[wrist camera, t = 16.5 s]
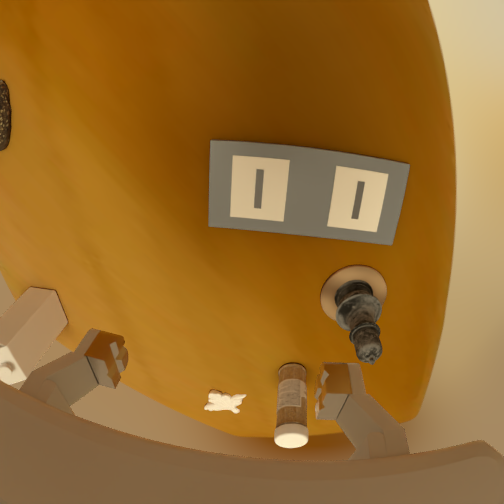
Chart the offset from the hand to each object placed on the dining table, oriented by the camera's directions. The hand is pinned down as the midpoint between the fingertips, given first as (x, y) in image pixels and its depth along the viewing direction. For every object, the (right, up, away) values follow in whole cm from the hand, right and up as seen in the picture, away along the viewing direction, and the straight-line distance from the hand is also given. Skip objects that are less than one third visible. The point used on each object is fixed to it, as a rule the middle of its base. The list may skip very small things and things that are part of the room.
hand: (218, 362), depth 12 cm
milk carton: (-35, -5, +35) cm, 50 cm away
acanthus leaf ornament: (-4, -23, +42) cm, 48 cm away
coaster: (+15, -1, +28) cm, 31 cm away
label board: (+8, +11, +22) cm, 26 cm away
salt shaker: (+15, -1, +27) cm, 31 cm away
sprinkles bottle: (+8, -15, +36) cm, 39 cm away
